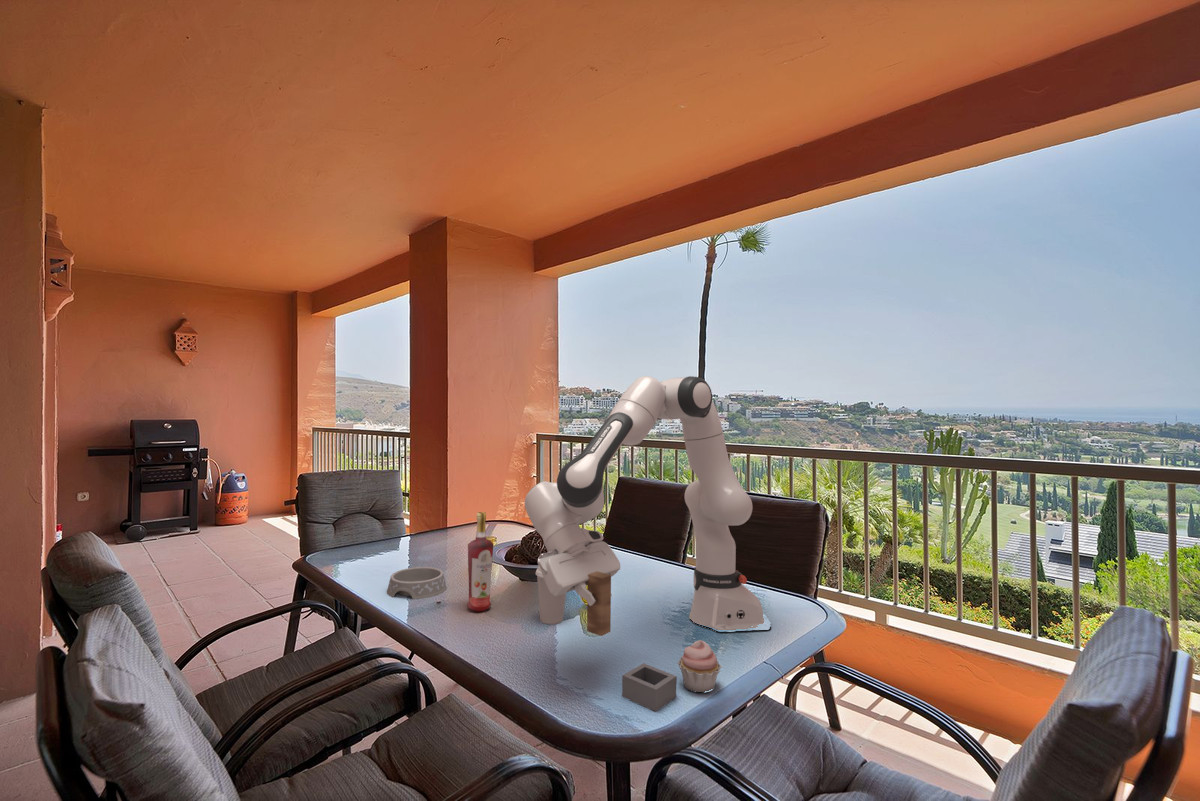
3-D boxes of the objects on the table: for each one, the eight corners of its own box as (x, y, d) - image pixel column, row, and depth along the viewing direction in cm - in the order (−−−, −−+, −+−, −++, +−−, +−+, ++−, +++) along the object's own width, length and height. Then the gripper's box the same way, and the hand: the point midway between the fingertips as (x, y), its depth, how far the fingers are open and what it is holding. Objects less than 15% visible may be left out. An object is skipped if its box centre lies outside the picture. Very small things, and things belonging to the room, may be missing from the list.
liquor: (472, 615, 153) (474, 516, 153) (462, 607, 159) (464, 512, 159) (496, 610, 157) (498, 513, 158) (485, 603, 163) (487, 509, 164)
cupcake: (676, 695, 112) (677, 647, 112) (677, 674, 121) (678, 629, 122) (722, 700, 111) (723, 651, 111) (720, 678, 120) (720, 632, 120)
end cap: (621, 696, 111) (622, 675, 111) (643, 683, 117) (643, 663, 117) (655, 711, 106) (656, 689, 106) (676, 697, 112) (676, 676, 112)
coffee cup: (551, 610, 158) (552, 559, 158) (575, 619, 152) (576, 565, 152) (527, 620, 151) (528, 565, 151) (551, 629, 145) (553, 573, 145)
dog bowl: (430, 602, 164) (430, 584, 164) (375, 597, 167) (375, 579, 167) (455, 584, 181) (455, 568, 181) (404, 580, 184) (405, 564, 184)
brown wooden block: (586, 630, 115) (587, 574, 115) (596, 626, 117) (596, 571, 118) (601, 636, 113) (601, 578, 113) (610, 631, 115) (611, 575, 115)
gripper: (541, 546, 112) (575, 606, 105) (605, 530, 127) (638, 581, 121) (526, 564, 115) (559, 623, 108) (590, 546, 130) (622, 596, 124)
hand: (601, 600), depth 115 cm, fingers closed on brown wooden block, 3 cm apart
